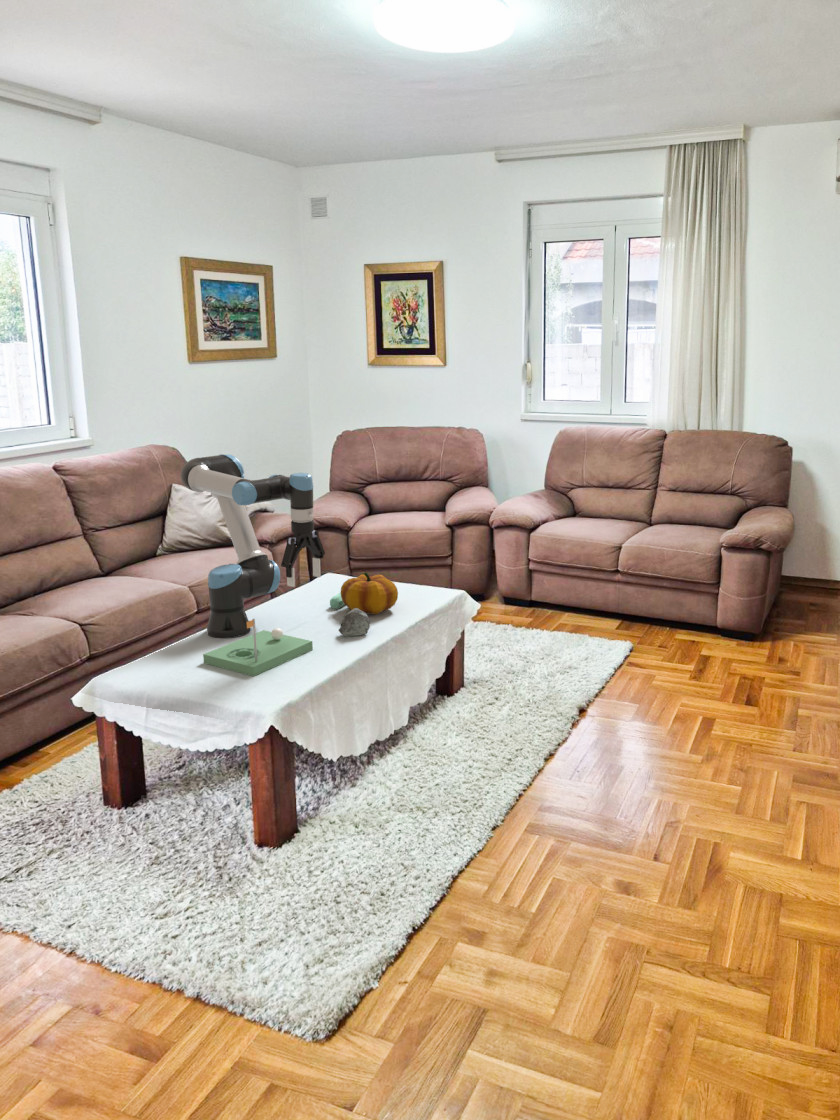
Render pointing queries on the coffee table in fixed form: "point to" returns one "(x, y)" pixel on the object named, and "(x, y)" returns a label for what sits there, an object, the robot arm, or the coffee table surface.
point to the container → (337, 601)
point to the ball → (277, 634)
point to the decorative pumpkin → (369, 593)
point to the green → (257, 652)
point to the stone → (354, 623)
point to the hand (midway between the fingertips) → (304, 581)
